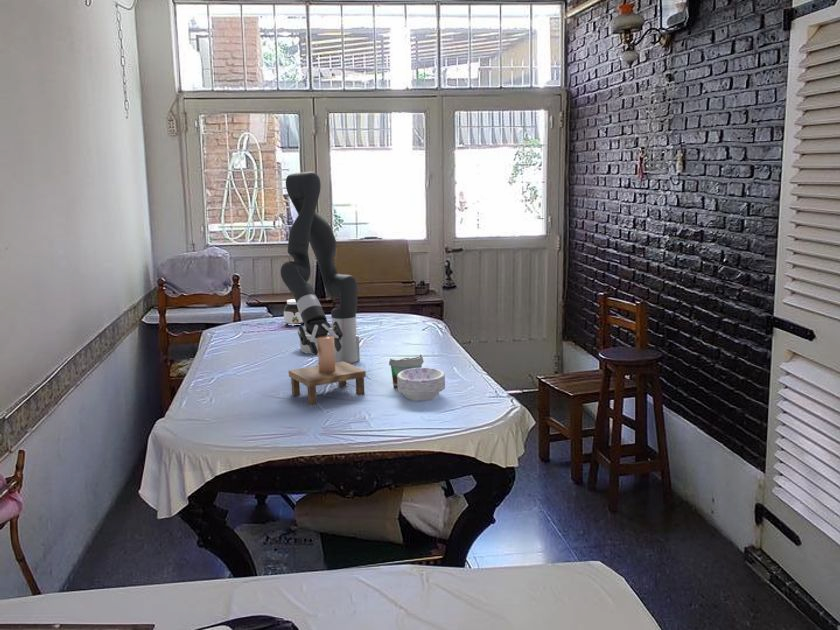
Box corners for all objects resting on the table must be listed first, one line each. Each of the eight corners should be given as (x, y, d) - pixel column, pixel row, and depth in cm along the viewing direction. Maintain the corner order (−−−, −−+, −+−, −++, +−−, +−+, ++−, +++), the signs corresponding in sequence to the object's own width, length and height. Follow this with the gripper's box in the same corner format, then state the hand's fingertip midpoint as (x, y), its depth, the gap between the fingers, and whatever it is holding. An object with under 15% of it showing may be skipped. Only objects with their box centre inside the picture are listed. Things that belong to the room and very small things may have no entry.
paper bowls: (408, 406, 249) (408, 382, 248) (390, 394, 263) (390, 370, 262) (453, 400, 255) (452, 375, 254) (433, 388, 269) (432, 365, 268)
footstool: (344, 384, 277) (343, 361, 275) (366, 394, 263) (365, 370, 262) (289, 393, 267) (288, 370, 265) (310, 405, 253) (308, 380, 252)
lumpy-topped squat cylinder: (326, 345, 336) (325, 325, 334) (326, 353, 323) (324, 331, 321) (301, 347, 335) (300, 326, 333) (299, 354, 322) (298, 333, 320)
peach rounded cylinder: (331, 367, 267) (329, 335, 265) (338, 370, 263) (336, 337, 261) (316, 370, 265) (314, 337, 262) (323, 373, 260) (321, 340, 258)
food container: (397, 392, 265) (396, 362, 264) (389, 387, 271) (388, 358, 269) (430, 386, 271) (430, 357, 269) (422, 382, 276) (421, 354, 274)
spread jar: (282, 326, 378) (281, 301, 376) (290, 321, 389) (289, 297, 387) (307, 326, 376) (306, 301, 374) (314, 321, 387) (313, 297, 385)
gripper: (293, 307, 262) (310, 348, 255) (333, 302, 270) (351, 342, 262) (288, 320, 268) (304, 361, 260) (327, 315, 275) (344, 355, 267)
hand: (327, 351), depth 261 cm, fingers open, 7 cm apart
